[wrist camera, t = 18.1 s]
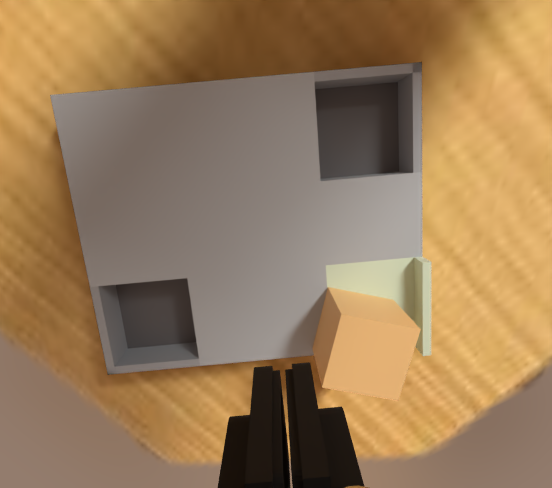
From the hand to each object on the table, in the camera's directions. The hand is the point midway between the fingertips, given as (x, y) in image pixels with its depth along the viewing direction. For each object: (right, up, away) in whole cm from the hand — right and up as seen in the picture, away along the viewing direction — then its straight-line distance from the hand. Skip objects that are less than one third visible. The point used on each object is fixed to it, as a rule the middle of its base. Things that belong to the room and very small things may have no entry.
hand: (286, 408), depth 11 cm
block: (+5, -1, +17) cm, 18 cm away
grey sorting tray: (-2, +6, +18) cm, 19 cm away
